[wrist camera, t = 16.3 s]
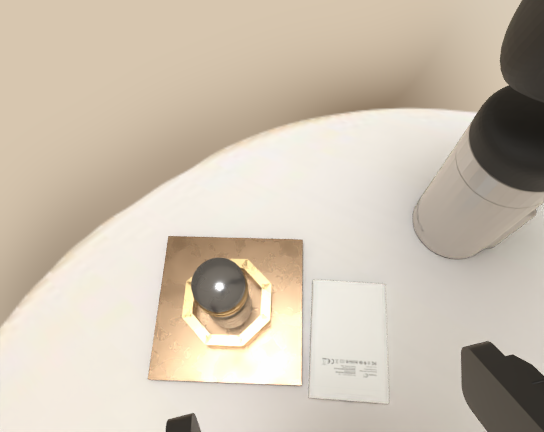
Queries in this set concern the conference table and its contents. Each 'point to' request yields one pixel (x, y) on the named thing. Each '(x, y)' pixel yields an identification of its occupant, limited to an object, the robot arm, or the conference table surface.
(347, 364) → the external hard drive
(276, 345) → the octagon frame base plate
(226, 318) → the cylinder
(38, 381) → the conference table surface
